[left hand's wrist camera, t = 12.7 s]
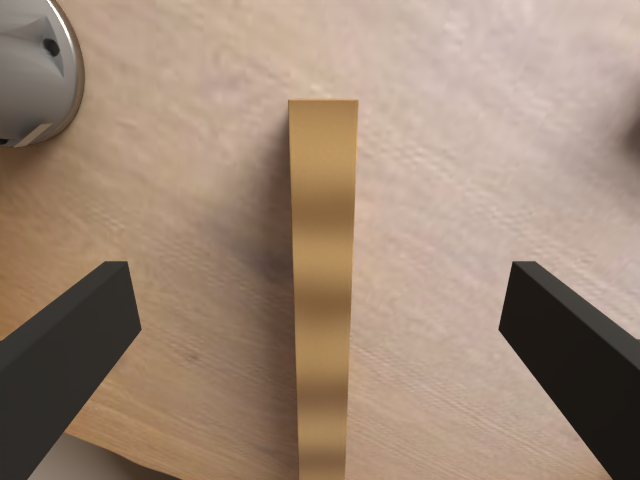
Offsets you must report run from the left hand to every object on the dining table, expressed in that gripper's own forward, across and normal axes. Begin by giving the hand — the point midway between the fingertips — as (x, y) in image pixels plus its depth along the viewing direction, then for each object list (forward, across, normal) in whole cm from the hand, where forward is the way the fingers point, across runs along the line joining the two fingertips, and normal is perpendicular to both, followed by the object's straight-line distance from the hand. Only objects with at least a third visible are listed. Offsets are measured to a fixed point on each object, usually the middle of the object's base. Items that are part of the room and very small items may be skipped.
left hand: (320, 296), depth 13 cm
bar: (+25, 0, -21) cm, 32 cm away
